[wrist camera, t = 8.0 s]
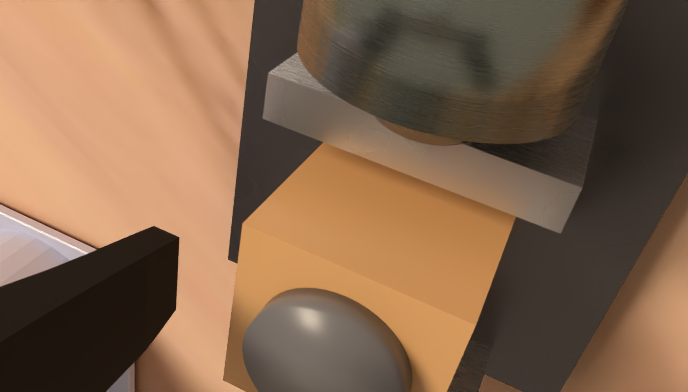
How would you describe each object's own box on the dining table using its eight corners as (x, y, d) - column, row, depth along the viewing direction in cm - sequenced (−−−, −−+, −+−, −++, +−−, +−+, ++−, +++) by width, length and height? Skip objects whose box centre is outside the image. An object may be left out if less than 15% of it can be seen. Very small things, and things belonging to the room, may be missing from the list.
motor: (557, 378, 18) (515, 589, 13) (245, 241, 21) (112, 380, 16) (845, -128, 11) (985, -62, 6) (304, -254, 13) (88, -282, 8)
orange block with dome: (470, 319, 17) (400, 499, 13) (319, 253, 18) (207, 400, 14) (528, 183, 15) (466, 349, 10) (349, 115, 16) (224, 241, 11)
